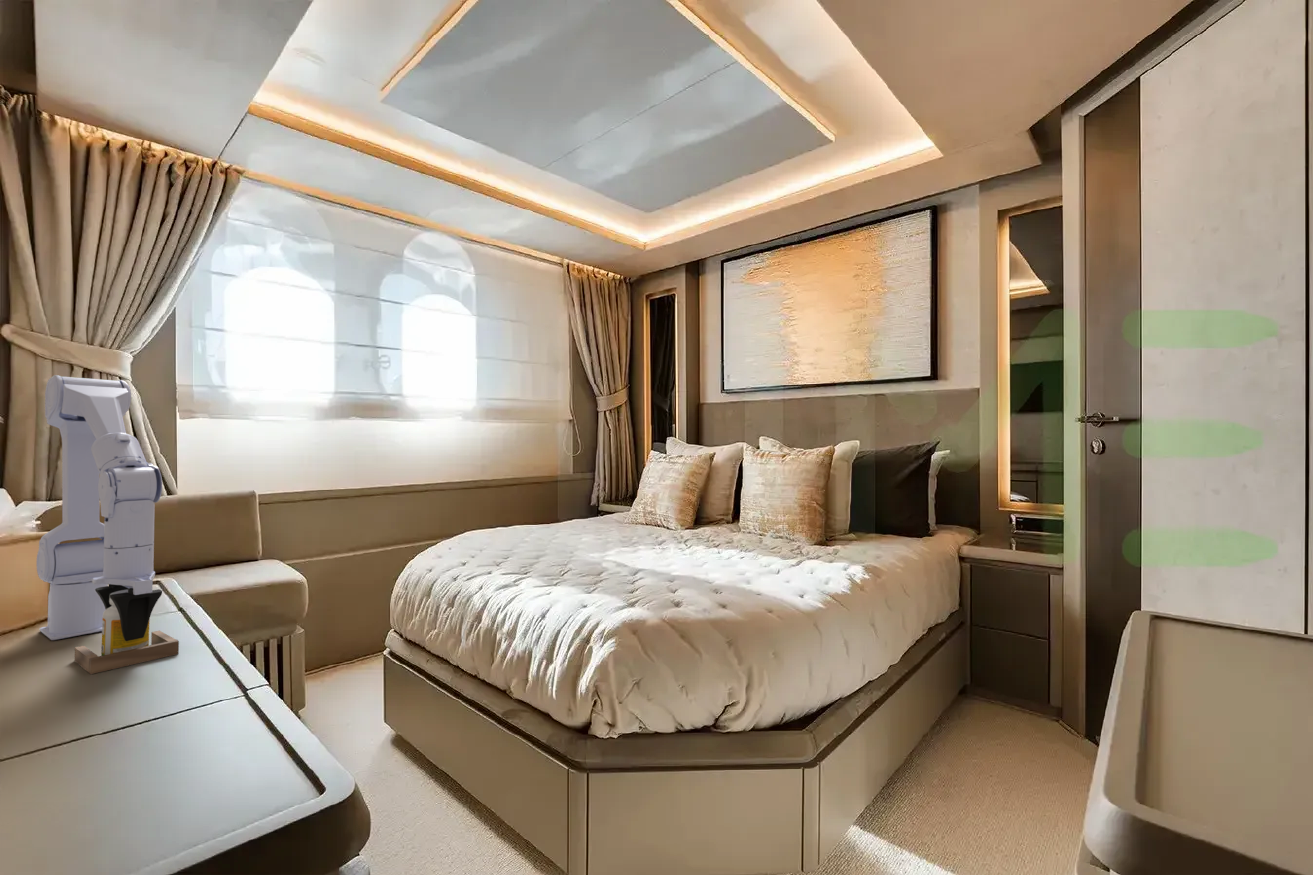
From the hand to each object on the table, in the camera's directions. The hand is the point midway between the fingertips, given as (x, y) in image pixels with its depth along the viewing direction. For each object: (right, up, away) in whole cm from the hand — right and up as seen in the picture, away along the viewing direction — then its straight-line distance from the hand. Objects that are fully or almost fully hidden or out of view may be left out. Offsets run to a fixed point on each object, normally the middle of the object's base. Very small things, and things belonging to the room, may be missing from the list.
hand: (127, 634), depth 89 cm
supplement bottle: (-1, -3, 0) cm, 3 cm away
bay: (0, -3, 0) cm, 3 cm away
